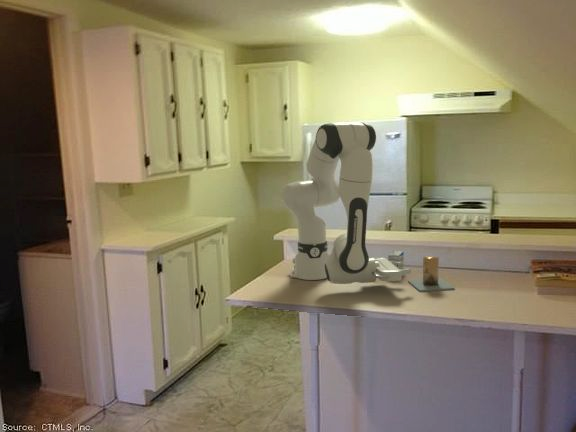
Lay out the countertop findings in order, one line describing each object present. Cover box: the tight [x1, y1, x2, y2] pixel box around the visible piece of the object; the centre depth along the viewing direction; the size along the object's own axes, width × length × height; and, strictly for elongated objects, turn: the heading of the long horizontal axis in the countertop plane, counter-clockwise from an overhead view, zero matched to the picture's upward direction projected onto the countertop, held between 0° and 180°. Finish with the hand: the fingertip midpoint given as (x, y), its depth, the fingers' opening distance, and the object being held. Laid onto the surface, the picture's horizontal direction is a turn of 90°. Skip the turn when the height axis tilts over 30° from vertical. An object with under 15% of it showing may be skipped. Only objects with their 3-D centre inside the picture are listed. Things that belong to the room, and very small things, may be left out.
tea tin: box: [422, 255, 440, 286], centre depth 193 cm, size 6×6×10 cm
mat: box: [407, 277, 456, 293], centre depth 194 cm, size 13×13×1 cm
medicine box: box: [387, 250, 405, 270], centre depth 210 cm, size 8×4×9 cm, turn 154°
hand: (405, 267), depth 192 cm, fingers open, 8 cm apart
